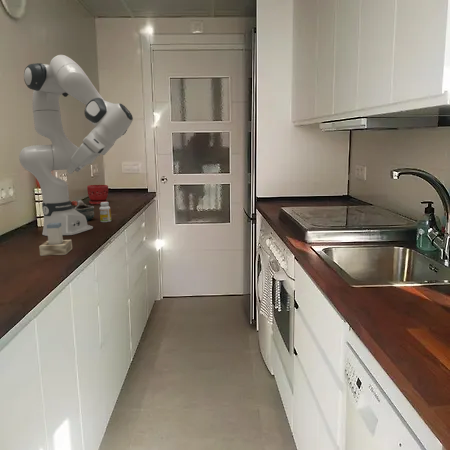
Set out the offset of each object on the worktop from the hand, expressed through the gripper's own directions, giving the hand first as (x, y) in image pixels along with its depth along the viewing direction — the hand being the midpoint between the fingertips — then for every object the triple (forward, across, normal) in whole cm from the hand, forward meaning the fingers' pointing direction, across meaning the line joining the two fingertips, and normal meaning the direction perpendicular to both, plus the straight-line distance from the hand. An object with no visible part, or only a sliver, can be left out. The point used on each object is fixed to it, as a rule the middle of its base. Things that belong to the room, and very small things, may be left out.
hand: (72, 171), depth 163 cm
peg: (+26, +1, +15) cm, 30 cm away
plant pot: (+35, -129, +7) cm, 134 cm away
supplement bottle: (+22, -61, +19) cm, 67 cm away
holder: (+26, +1, +15) cm, 30 cm away
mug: (+31, -67, +10) cm, 75 cm away
